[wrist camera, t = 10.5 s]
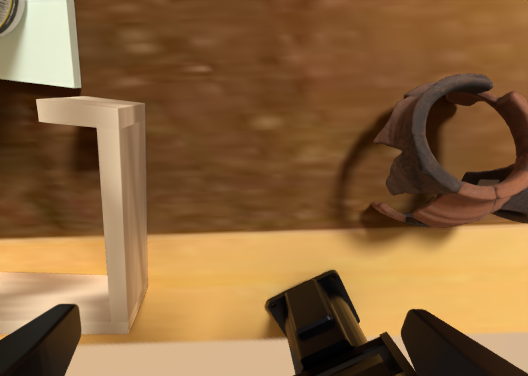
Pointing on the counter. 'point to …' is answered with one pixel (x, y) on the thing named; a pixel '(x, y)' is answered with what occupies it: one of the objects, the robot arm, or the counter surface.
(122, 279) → the open frame
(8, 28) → the supplement bottle
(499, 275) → the counter surface
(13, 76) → the pad
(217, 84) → the counter surface
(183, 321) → the counter surface
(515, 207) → the brown curved piece
